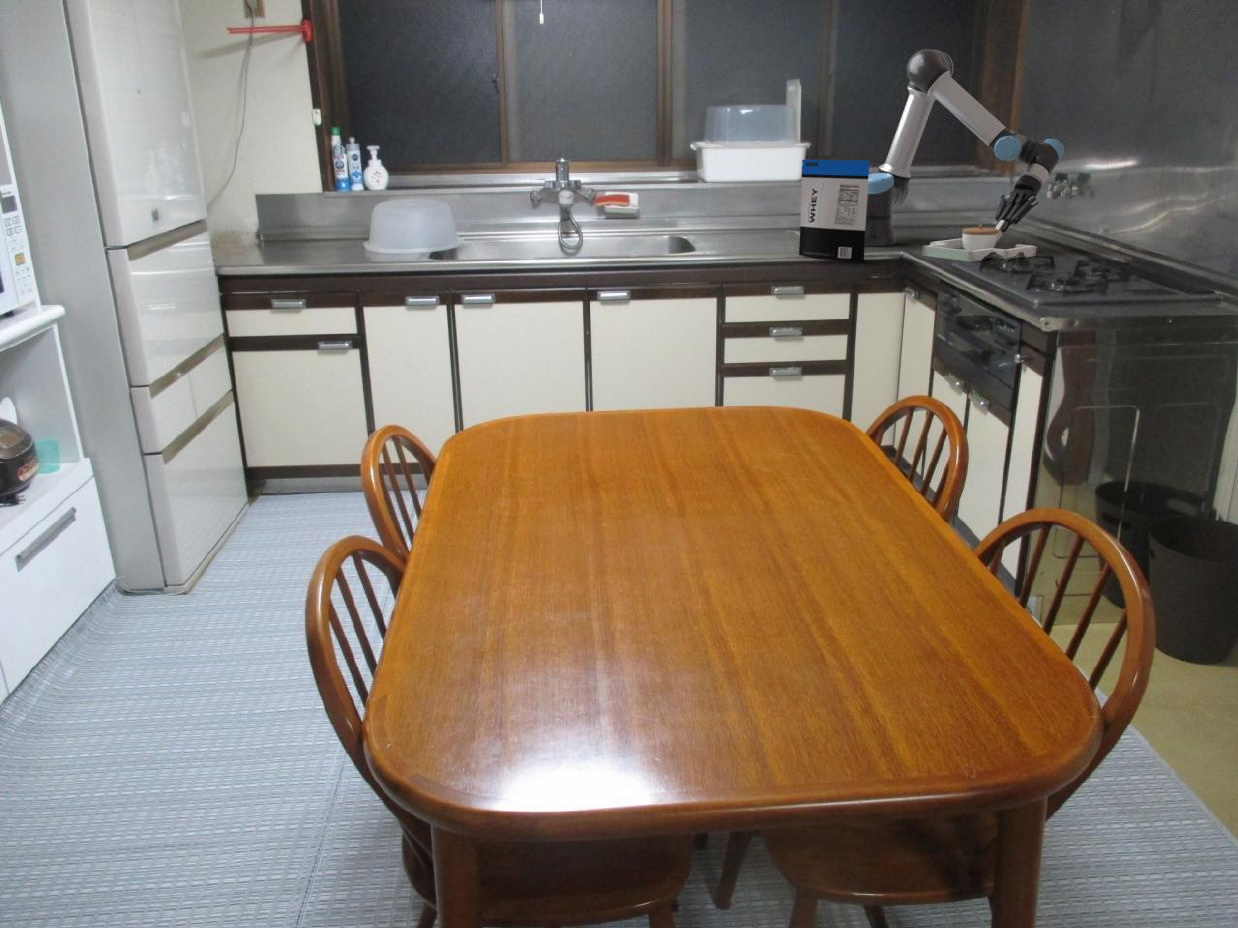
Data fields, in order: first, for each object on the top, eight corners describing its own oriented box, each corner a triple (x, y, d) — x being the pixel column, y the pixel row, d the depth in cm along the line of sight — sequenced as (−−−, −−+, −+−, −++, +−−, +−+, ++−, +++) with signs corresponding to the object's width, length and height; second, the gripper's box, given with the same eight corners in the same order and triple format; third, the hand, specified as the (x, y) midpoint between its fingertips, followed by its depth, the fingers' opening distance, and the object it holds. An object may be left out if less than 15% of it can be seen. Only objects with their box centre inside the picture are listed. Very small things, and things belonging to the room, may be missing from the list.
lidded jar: (991, 251, 331) (994, 222, 328) (999, 256, 321) (1002, 225, 318) (957, 252, 332) (959, 222, 329) (964, 256, 322) (966, 226, 319)
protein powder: (855, 262, 316) (860, 161, 306) (790, 256, 332) (793, 160, 322) (871, 259, 322) (877, 160, 312) (807, 253, 338) (810, 159, 329)
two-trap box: (909, 254, 330) (910, 244, 329) (959, 247, 343) (960, 238, 342) (984, 263, 307) (985, 253, 306) (1035, 256, 320) (1036, 246, 319)
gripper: (1053, 190, 328) (1015, 248, 325) (1018, 188, 339) (981, 244, 335) (1044, 174, 324) (1006, 232, 321) (1009, 173, 334) (972, 229, 331)
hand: (993, 238), depth 328 cm, fingers closed
